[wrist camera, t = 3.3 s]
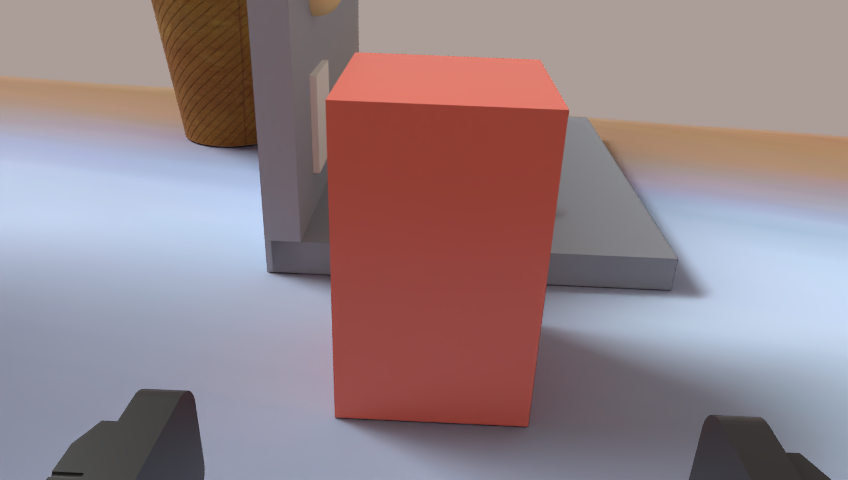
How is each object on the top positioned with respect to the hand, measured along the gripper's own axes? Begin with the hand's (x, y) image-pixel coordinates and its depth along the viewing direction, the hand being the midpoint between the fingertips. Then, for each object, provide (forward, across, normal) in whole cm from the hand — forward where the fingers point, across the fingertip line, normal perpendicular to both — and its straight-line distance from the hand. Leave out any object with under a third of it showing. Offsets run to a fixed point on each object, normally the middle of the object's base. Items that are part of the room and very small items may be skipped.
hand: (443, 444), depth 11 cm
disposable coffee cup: (+36, +14, +7) cm, 40 cm away
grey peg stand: (+28, -1, +6) cm, 29 cm away
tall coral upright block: (+11, 0, +7) cm, 13 cm away
